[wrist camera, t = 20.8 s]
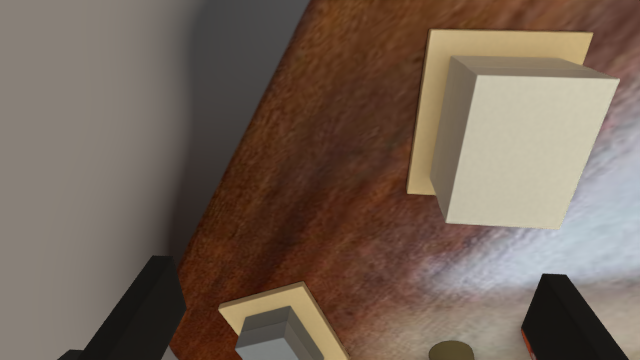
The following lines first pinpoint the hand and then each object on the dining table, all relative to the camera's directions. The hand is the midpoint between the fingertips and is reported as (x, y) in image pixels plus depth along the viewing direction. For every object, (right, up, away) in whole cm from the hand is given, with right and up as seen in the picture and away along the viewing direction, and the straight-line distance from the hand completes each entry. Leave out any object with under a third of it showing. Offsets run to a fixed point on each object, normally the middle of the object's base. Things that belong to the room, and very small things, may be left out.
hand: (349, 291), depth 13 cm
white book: (+14, +7, +16) cm, 22 cm away
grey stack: (-6, -18, +38) cm, 42 cm away
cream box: (+15, +10, +21) cm, 27 cm away
